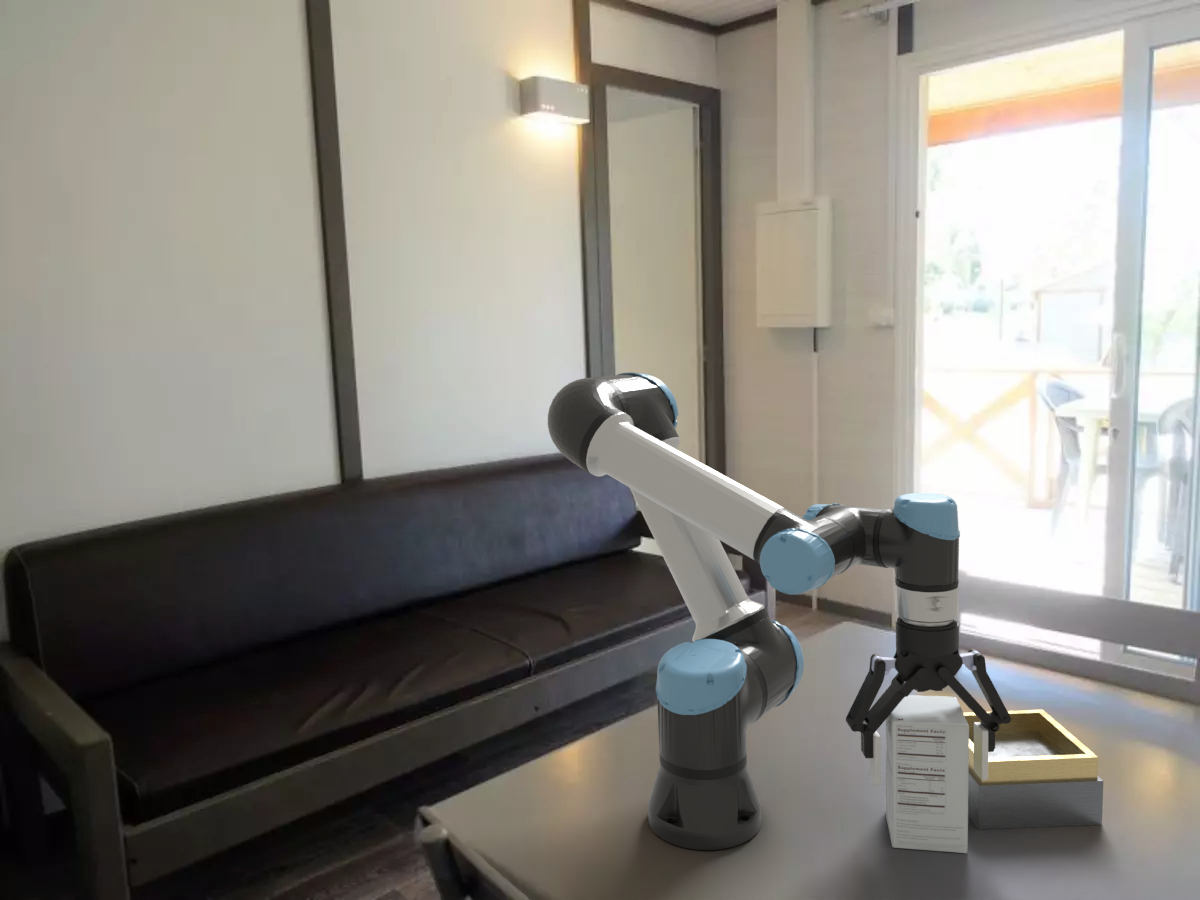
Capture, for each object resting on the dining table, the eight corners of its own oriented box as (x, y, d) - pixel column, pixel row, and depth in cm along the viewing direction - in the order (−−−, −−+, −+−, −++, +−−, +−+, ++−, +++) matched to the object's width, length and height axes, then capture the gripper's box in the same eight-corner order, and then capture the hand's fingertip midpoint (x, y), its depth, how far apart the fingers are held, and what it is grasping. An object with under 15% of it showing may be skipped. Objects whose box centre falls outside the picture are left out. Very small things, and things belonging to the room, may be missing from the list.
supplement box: (969, 855, 116) (971, 726, 113) (891, 849, 118) (891, 722, 115) (956, 815, 125) (957, 694, 123) (884, 810, 127) (884, 691, 125)
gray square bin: (978, 829, 121) (979, 763, 120) (934, 770, 137) (934, 712, 136) (1101, 824, 121) (1104, 758, 120) (1042, 766, 137) (1044, 707, 136)
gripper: (835, 632, 114) (838, 796, 116) (1040, 621, 114) (1038, 786, 116) (820, 613, 121) (823, 768, 124) (1012, 603, 121) (1011, 759, 124)
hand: (927, 777), depth 120 cm, fingers open, 13 cm apart
